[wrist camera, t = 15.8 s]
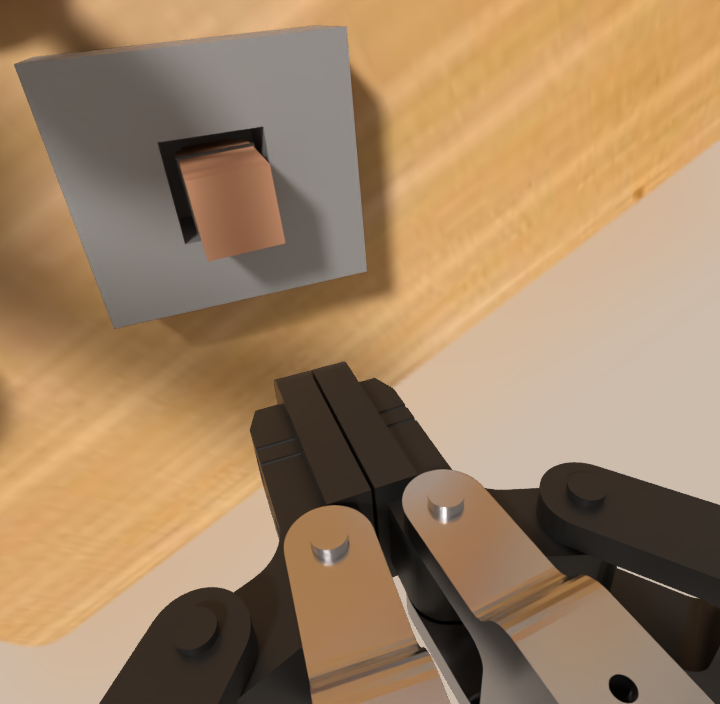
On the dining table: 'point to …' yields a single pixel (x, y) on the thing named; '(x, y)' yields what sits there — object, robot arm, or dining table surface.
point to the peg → (230, 197)
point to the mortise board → (192, 127)
